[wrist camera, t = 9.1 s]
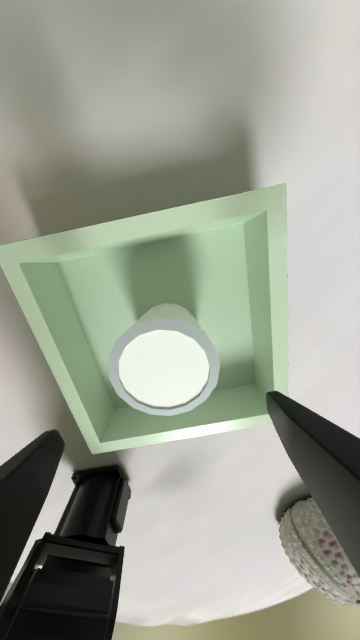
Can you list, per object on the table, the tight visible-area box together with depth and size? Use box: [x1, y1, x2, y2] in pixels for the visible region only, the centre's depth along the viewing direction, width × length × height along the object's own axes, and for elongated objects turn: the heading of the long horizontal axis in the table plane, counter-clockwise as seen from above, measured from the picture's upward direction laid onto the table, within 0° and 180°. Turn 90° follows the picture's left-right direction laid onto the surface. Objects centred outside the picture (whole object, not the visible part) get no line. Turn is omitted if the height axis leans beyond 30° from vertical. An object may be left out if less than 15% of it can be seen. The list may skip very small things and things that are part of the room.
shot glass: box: [108, 303, 220, 416], centre depth 14 cm, size 7×7×7 cm
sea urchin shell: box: [279, 497, 360, 606], centre depth 25 cm, size 13×14×8 cm
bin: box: [0, 183, 289, 454], centre depth 16 cm, size 18×18×5 cm
